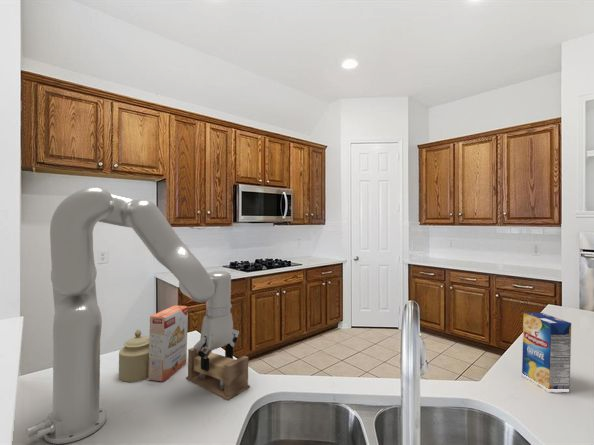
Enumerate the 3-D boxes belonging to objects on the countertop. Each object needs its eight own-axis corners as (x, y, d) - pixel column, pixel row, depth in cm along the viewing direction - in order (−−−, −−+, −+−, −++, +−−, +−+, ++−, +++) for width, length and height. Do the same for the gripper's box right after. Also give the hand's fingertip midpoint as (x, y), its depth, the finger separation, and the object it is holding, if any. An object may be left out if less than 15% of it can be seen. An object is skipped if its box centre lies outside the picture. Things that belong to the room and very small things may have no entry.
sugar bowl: (129, 362, 113) (130, 320, 113) (162, 360, 115) (162, 319, 115) (112, 383, 98) (113, 336, 98) (150, 381, 100) (150, 334, 100)
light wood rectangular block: (193, 370, 100) (193, 357, 100) (207, 363, 106) (207, 351, 106) (226, 382, 94) (227, 368, 94) (239, 373, 99) (240, 361, 99)
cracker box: (164, 382, 99) (165, 317, 99) (147, 380, 100) (148, 315, 100) (187, 363, 113) (188, 305, 113) (172, 361, 114) (173, 304, 114)
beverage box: (549, 393, 98) (550, 323, 97) (521, 375, 109) (523, 312, 108) (569, 393, 98) (571, 323, 98) (540, 375, 109) (542, 312, 109)
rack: (227, 400, 90) (228, 367, 90) (185, 378, 102) (186, 349, 102) (249, 387, 97) (250, 356, 97) (208, 368, 109) (208, 341, 109)
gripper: (230, 303, 109) (229, 352, 109) (187, 314, 95) (186, 370, 95) (246, 307, 104) (245, 358, 104) (203, 319, 90) (202, 378, 90)
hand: (217, 364), depth 100 cm, fingers open, 9 cm apart
